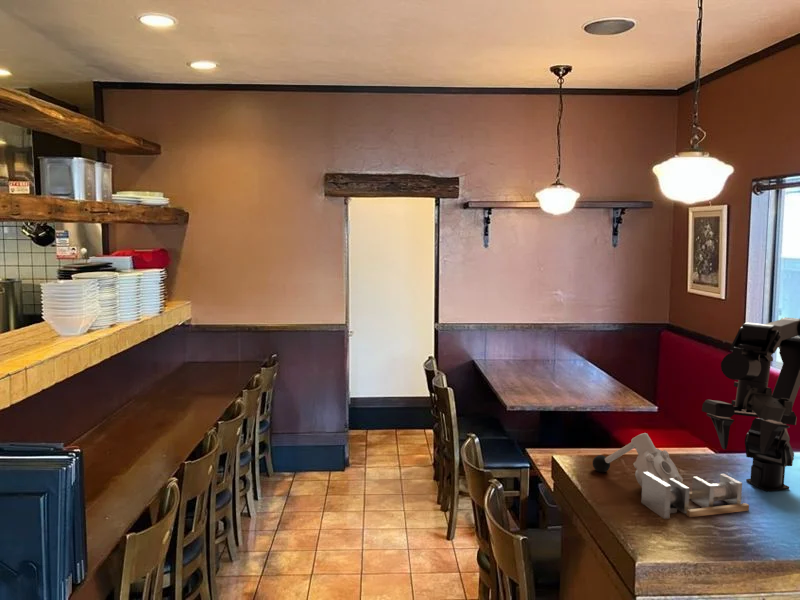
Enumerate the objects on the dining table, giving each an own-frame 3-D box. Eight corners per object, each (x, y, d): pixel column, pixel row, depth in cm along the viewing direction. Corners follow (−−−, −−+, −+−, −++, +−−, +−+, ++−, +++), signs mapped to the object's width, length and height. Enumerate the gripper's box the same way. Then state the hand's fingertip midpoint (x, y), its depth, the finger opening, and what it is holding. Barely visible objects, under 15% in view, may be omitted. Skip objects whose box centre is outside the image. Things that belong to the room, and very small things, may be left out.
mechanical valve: (665, 492, 141) (631, 429, 148) (607, 521, 152) (578, 462, 159) (691, 485, 147) (656, 425, 154) (633, 514, 158) (604, 456, 165)
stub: (668, 500, 143) (669, 469, 143) (692, 515, 136) (694, 483, 135) (641, 502, 142) (642, 472, 141) (664, 518, 134) (665, 486, 133)
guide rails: (718, 493, 147) (719, 488, 147) (748, 510, 138) (749, 505, 138) (662, 499, 144) (663, 494, 143) (689, 517, 135) (690, 511, 135)
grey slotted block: (722, 497, 145) (723, 473, 145) (740, 507, 140) (742, 483, 139) (691, 500, 143) (692, 476, 143) (708, 511, 138) (710, 486, 137)
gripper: (736, 381, 132) (726, 456, 133) (820, 391, 134) (809, 465, 135) (705, 373, 144) (695, 443, 144) (782, 383, 146) (773, 451, 146)
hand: (743, 451), depth 142 cm, fingers open, 9 cm apart
